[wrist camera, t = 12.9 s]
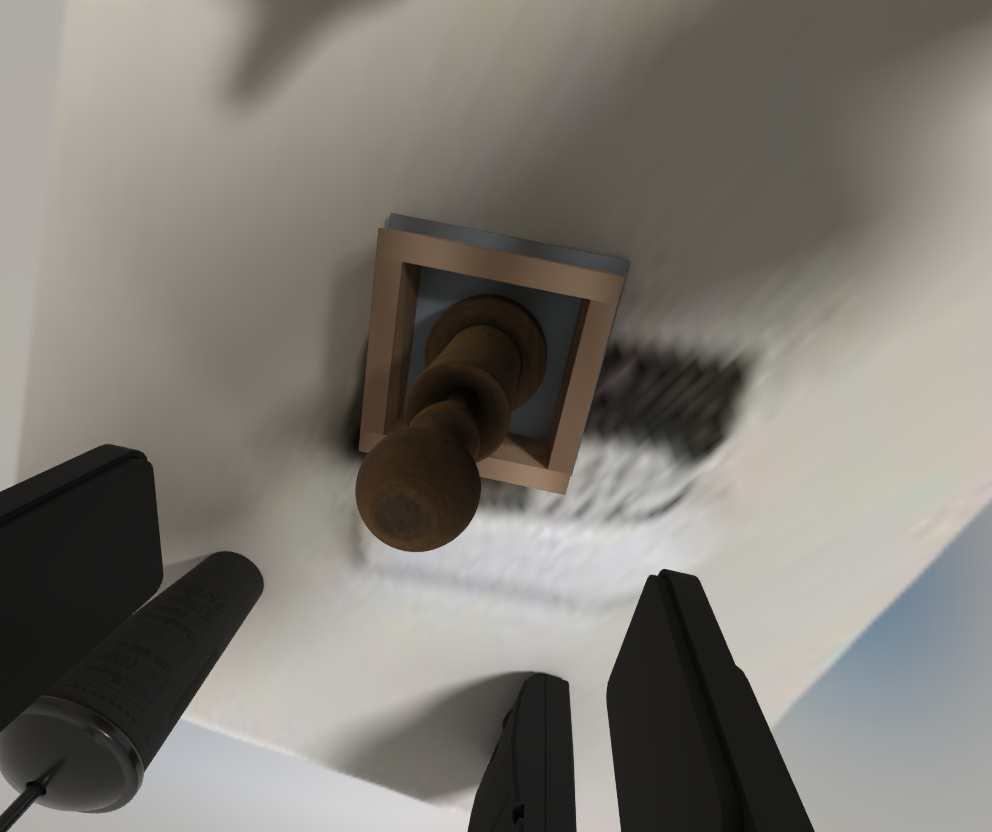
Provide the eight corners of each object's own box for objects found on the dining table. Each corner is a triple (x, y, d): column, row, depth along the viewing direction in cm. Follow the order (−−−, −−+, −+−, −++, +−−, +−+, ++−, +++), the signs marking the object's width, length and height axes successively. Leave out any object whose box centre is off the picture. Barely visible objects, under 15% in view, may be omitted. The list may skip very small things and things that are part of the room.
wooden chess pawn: (449, 414, 29) (317, 648, 12) (418, 309, 27) (209, 410, 10) (557, 392, 28) (580, 615, 11) (533, 281, 26) (517, 340, 9)
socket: (628, 260, 26) (645, 263, 21) (570, 471, 30) (575, 509, 26) (394, 213, 26) (364, 207, 22) (372, 429, 30) (344, 459, 26)
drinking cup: (239, 519, 34) (-137, 858, 15) (301, 598, 36) (36, 985, 17) (164, 556, 36) (-254, 899, 17) (227, 629, 38) (-86, 1010, 19)
